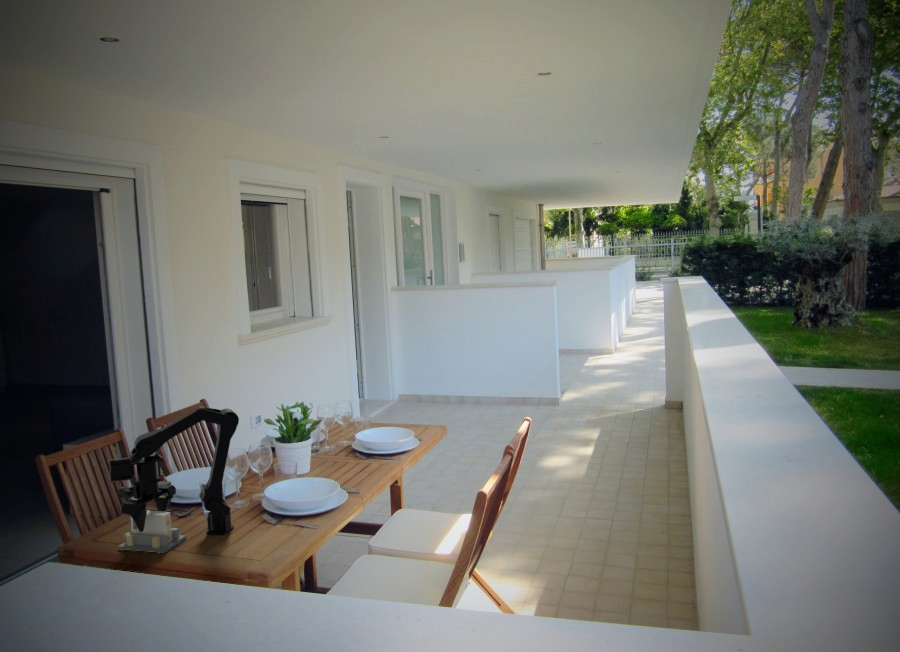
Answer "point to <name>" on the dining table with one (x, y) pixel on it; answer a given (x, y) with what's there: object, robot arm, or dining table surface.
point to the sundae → (164, 482)
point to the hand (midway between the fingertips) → (151, 525)
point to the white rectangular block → (155, 524)
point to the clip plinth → (151, 541)
